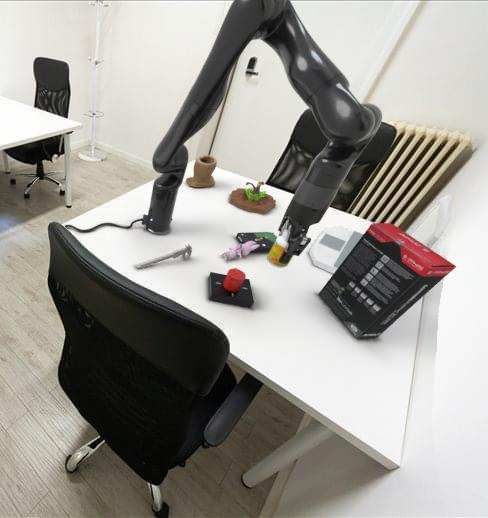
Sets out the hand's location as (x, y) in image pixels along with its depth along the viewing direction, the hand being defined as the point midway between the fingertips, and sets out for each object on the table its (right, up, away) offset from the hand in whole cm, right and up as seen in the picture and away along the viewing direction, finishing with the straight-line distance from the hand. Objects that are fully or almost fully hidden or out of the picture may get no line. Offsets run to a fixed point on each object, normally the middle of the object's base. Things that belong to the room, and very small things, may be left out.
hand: (280, 255), depth 78 cm
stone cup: (+4, +37, +72) cm, 81 cm away
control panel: (-9, -12, +12) cm, 19 cm away
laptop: (+45, 0, +29) cm, 54 cm away
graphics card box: (+23, -18, +7) cm, 30 cm away
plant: (+23, +26, +59) cm, 69 cm away
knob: (-9, -9, +10) cm, 16 cm away
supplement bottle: (0, -2, +2) cm, 2 cm away
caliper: (-27, -2, +22) cm, 35 cm away
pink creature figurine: (+2, +1, +27) cm, 27 cm away
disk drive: (+12, +4, +33) cm, 35 cm away
